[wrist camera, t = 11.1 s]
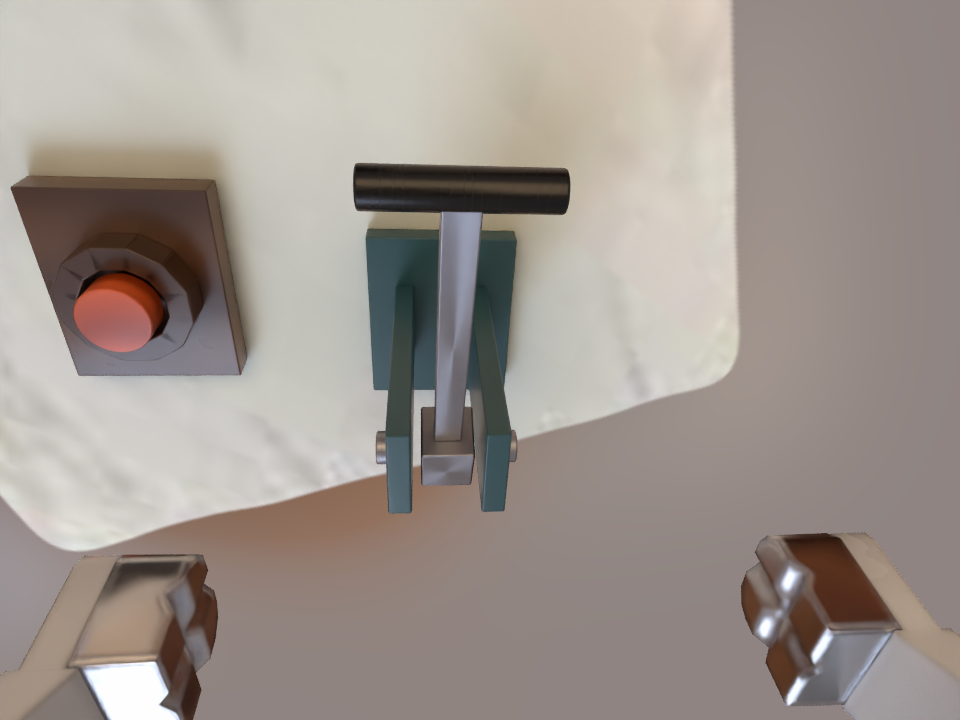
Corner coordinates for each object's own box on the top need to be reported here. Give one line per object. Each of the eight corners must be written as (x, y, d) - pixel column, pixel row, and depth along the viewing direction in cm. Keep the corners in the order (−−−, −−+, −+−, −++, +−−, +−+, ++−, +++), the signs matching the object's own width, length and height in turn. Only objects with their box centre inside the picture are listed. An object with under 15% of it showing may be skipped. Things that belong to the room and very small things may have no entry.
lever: (355, 138, 17) (350, 200, 16) (563, 144, 17) (576, 204, 16) (385, 438, 30) (383, 487, 28) (504, 437, 30) (508, 485, 29)
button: (78, 272, 32) (62, 288, 30) (155, 272, 32) (142, 289, 31) (99, 334, 34) (84, 352, 32) (171, 334, 34) (159, 353, 33)
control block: (27, 175, 32) (-12, 200, 29) (215, 179, 33) (195, 204, 30) (90, 359, 38) (63, 395, 35) (247, 359, 39) (233, 394, 36)
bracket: (367, 228, 35) (340, 377, 24) (514, 230, 36) (557, 376, 24) (374, 379, 41) (356, 558, 29) (502, 378, 41) (532, 553, 30)
